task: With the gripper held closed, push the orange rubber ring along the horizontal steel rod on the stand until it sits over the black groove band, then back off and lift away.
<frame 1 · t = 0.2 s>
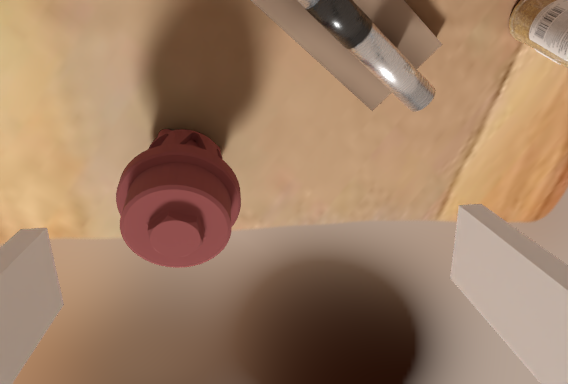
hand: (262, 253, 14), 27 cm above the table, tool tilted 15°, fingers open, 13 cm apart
sprinkles bottle: (531, 14, 39), on the table
mechanical component: (186, 152, 43), on the table
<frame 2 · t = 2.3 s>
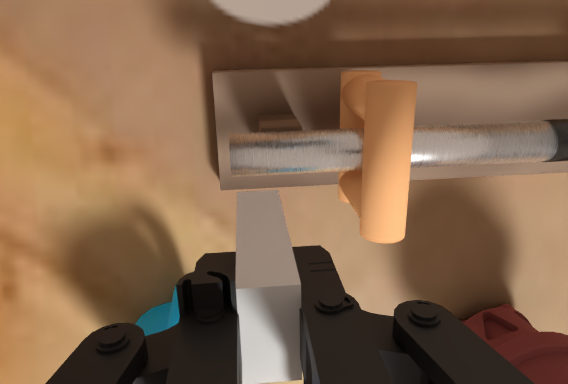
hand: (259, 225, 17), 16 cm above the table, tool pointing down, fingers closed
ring: (371, 148, 25), point 7 cm above the table, slide at 0.0 cm
rod: (488, 143, 26), on the stand, point 6 cm above the table
mechanical component: (480, 328, 40), on the table
mug: (182, 322, 37), on the table
stand: (437, 120, 33), on the table
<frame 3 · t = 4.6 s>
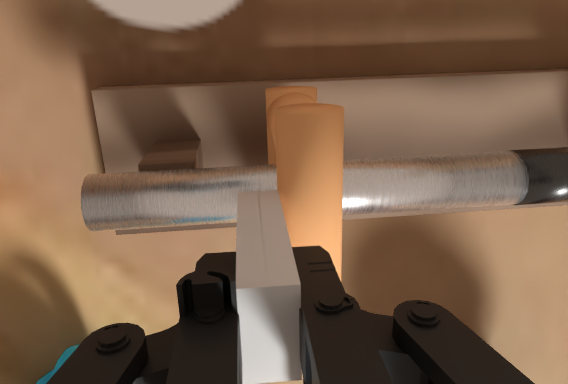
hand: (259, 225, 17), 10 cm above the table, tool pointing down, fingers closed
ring: (300, 190, 19), point 7 cm above the table, slide at 0.8 cm, touching gripper
rod: (438, 182, 20), on the stand, point 6 cm above the table
stand: (388, 144, 26), on the table
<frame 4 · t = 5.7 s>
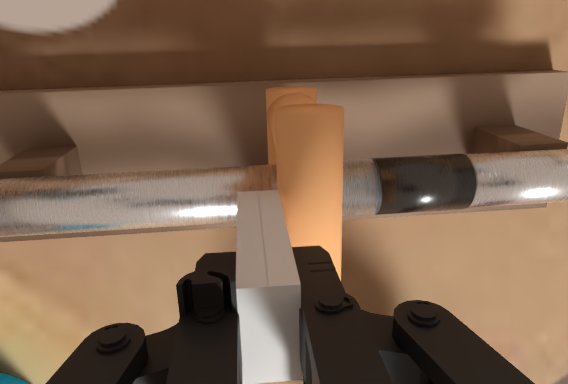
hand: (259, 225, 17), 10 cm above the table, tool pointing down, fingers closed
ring: (300, 190, 19), point 7 cm above the table, slide at 7.2 cm, touching gripper
rod: (295, 190, 19), on the stand, point 6 cm above the table
stand: (281, 150, 26), on the table
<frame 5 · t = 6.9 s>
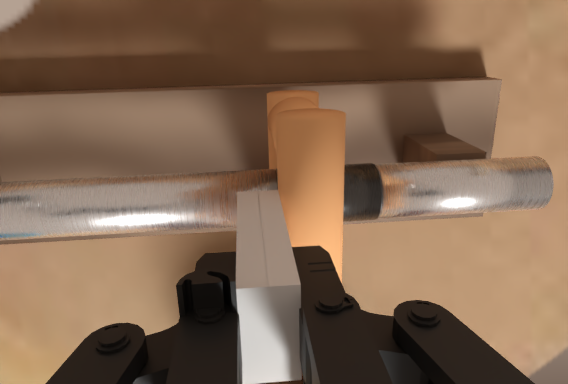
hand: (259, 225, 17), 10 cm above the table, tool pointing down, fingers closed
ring: (301, 195, 19), point 7 cm above the table, slide at 11.3 cm, touching gripper
rod: (200, 200, 19), on the stand, point 6 cm above the table
stand: (210, 157, 25), on the table
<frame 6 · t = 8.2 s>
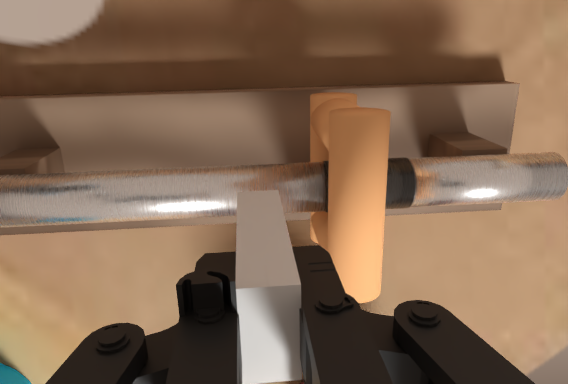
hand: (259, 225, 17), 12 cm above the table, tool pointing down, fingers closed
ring: (342, 185, 22), point 7 cm above the table, slide at 11.4 cm
rod: (252, 189, 21), on the stand, point 6 cm above the table
stand: (250, 154, 28), on the table
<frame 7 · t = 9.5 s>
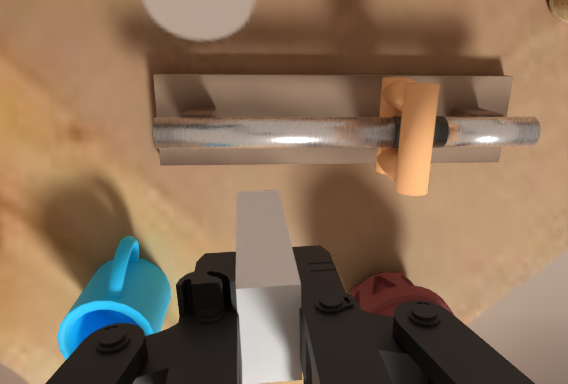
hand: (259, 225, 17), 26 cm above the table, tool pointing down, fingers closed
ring: (403, 132, 35), point 7 cm above the table, slide at 11.4 cm
rod: (349, 132, 35), on the stand, point 6 cm above the table
mechanical component: (379, 292, 48), on the table
mug: (133, 274, 46), on the table
stand: (333, 118, 42), on the table
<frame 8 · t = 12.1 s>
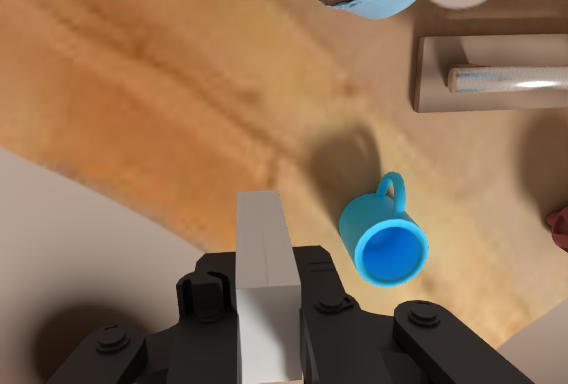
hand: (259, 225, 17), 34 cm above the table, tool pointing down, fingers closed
mechanical component: (567, 219, 58), on the table
mug: (373, 208, 55), on the table
stand: (552, 70, 51), on the table
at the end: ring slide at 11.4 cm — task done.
